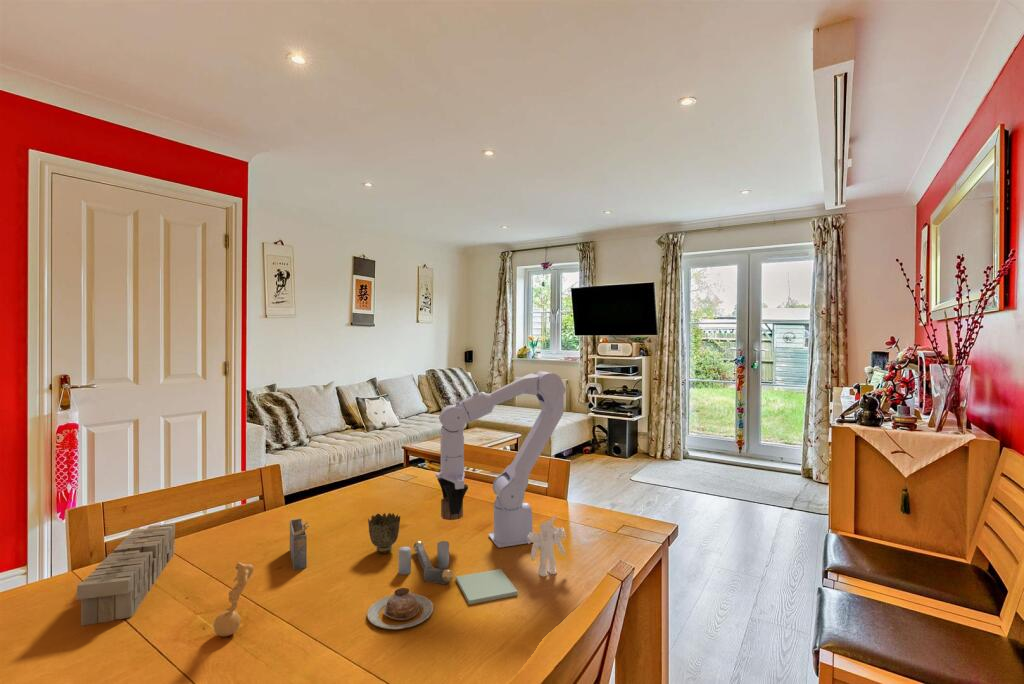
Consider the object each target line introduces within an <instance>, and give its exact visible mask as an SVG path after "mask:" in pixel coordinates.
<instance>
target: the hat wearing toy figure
mask: <svg viewBox="0 0 1024 684" xmlns="http://www.w3.org/2000/svg"><path fill="white" fill-rule="evenodd" d="M556 518H557V514H555V515H554V516H553V517H550V518H549V520H544V521H543V522H542V523H541V524H539V526H538V528H539V530H540V531H539V532H537V531H535V530H533V532H532V533H531V532H530V533H529V534H528V535H527V538H528V539H529V540H530V542H531V541H532V544H533V545H532V546H531V551H530V560H531V561H532V562H533V561H535V556H536V557H539V567H538V570H537V571H538V575H539V576H541V577H543V578H544V577H547V576H548V573H549V574H551V575H556V574H557V573H558V571H557V569H556V561H555V560H556V559H555V553H554V546H555V544H556V546H557V547H558V554H561V553H562V557H564V556H565V555H566V550H565V548H564V546H563V544H562V542H563V541H564V540H565V539H566V538H567V535H566V529H565V528H564V527H556V526H554V525H553V523H554V521H556ZM530 542H529V541H528V543H527V544H528V545H530V544H531V543H530ZM537 550H539V551H540V552H539V554H538V552H537ZM547 560H548V564H547Z"/></svg>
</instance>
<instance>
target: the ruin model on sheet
mask: <svg viewBox="0 0 1024 684" xmlns="http://www.w3.org/2000/svg"><path fill="white" fill-rule="evenodd" d="M308 523H309V522H305V523H303V519H302V518H295V519H290V520H289V552H290V553H289V554H290V559H291V563H292V568H293V571H297V570H302V569H306V568H307V563H308V562H307V560H308V559H307V553H308V552H307V538H308V537H307V534H306V530H307V529H308V528H309V525H308Z"/></svg>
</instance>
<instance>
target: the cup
mask: <svg viewBox="0 0 1024 684" xmlns="http://www.w3.org/2000/svg"><path fill="white" fill-rule="evenodd" d="M400 524H401V515H399V514H398V513H397V514H396V515H395V513H394V512H392V513H391V512H389V513H388V514H386V512H385V513H383V514H380V513H376V514H375V515H371V519H369V518H368V519H367V525H368V531H369V538H370V542H371V543H372V544H373V546H375V547H376V548H375V549H376V552H377V553H378V554H382V555H383V554H385V555H386V554H388V553H390V552H391V551H392V549H393V545H394V544H395V543H396V541H397V540H398V538H399V533H400Z"/></svg>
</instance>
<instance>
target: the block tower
mask: <svg viewBox="0 0 1024 684" xmlns="http://www.w3.org/2000/svg"><path fill="white" fill-rule="evenodd" d="M175 533H176V523H172V522H171V523H163V524H155V525H149V526H147V527H146V528H138V529H133V530H132V531H131V532H130V533H129V534H128V535H127V536H126V537H125V538H124V539H123V540H122V541H121V542H120V543H119V545H117V546H116V547H115V549H113V552H110V553H108V555H107V556H106V557H105V559H103V560H102V562H100V563H99V564H98V565H97V567H95V568H94V570H93V571H92V572H91V573H90V574H89V575H88V576H87V577H86V578H85V579H84V581H81V582H79V583H78V584H77V585H76V600H77V601H78V600H81V601H80V602H81V603H80V605H81V607H80V613H81V614H80V617H81V619H80V625H81V626H89V625H92V624H93V625H94V624H98V623H99V624H100V623H107V622H114V621H115V620H122V619H129V618H132V617H133V615H134V614H135V613H136V612H137V610H138V608H139V607H140V605H141V604H142V602H143V601H144V600H145V597H146V596H147V594H148V592H150V591H151V590H152V589H153V585H154V584H155V583H156V581H157V579H158V578H159V577H160V576H161V574H162V572H163V571H164V570H165V568H166V567H167V564H168V563H169V562H170V561H171V559H172V558H173V557H174V556H175V539H176V537H175V536H176V535H175Z"/></svg>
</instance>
